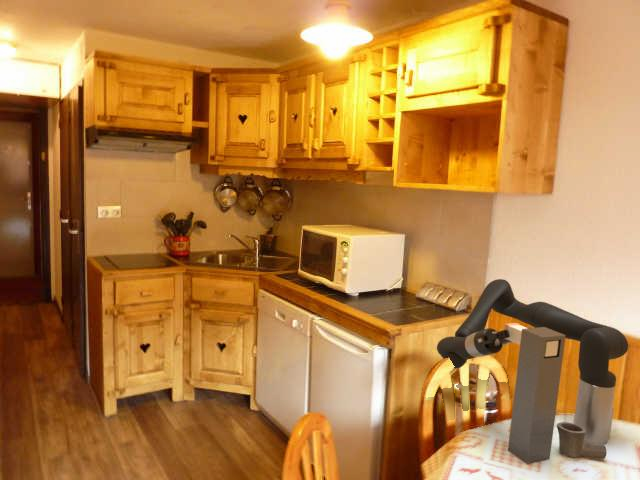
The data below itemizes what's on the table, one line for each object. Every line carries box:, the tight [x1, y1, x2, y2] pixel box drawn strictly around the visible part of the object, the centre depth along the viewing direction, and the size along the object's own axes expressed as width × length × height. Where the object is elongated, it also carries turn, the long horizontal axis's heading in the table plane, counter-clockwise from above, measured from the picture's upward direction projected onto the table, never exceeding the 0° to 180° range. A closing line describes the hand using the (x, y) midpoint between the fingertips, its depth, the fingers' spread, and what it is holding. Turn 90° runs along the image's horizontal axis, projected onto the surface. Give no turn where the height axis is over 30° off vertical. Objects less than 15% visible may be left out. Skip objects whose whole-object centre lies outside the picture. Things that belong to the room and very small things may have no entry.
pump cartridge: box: [503, 322, 558, 357], centre depth 135 cm, size 4×15×4 cm, turn 22°
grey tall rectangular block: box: [507, 327, 566, 465], centre depth 133 cm, size 8×7×35 cm
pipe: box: [556, 421, 607, 459], centre depth 137 cm, size 6×13×8 cm, turn 78°
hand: (520, 332), depth 139 cm, fingers open, 8 cm apart
